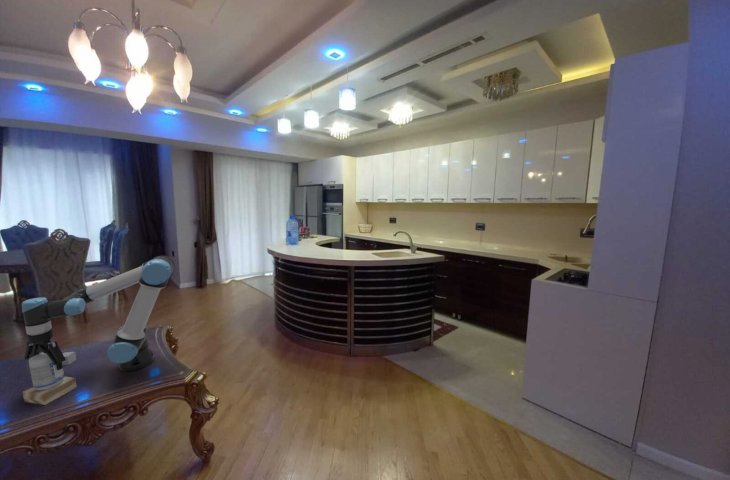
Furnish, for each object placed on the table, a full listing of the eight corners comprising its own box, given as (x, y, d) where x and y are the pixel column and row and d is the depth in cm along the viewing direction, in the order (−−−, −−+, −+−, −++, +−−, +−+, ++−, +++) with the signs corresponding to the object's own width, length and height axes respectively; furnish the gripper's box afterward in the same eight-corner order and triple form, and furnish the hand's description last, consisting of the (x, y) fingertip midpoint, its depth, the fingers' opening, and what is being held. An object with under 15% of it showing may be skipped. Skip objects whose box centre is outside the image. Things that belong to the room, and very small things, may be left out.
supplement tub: (60, 386, 129) (55, 357, 127) (29, 394, 124) (23, 364, 122) (67, 375, 137) (62, 347, 135) (38, 382, 132) (33, 354, 129)
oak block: (76, 387, 136) (75, 377, 135) (45, 404, 124) (43, 394, 123) (57, 384, 138) (55, 375, 137) (24, 401, 126) (22, 391, 125)
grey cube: (76, 359, 159) (74, 351, 159) (68, 364, 155) (67, 356, 154) (66, 360, 159) (64, 352, 158) (58, 365, 154) (56, 357, 153)
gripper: (71, 330, 128) (78, 372, 131) (29, 325, 132) (37, 366, 135) (51, 338, 121) (59, 382, 124) (7, 333, 125) (16, 376, 128)
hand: (48, 374), depth 130 cm, fingers open, 13 cm apart
